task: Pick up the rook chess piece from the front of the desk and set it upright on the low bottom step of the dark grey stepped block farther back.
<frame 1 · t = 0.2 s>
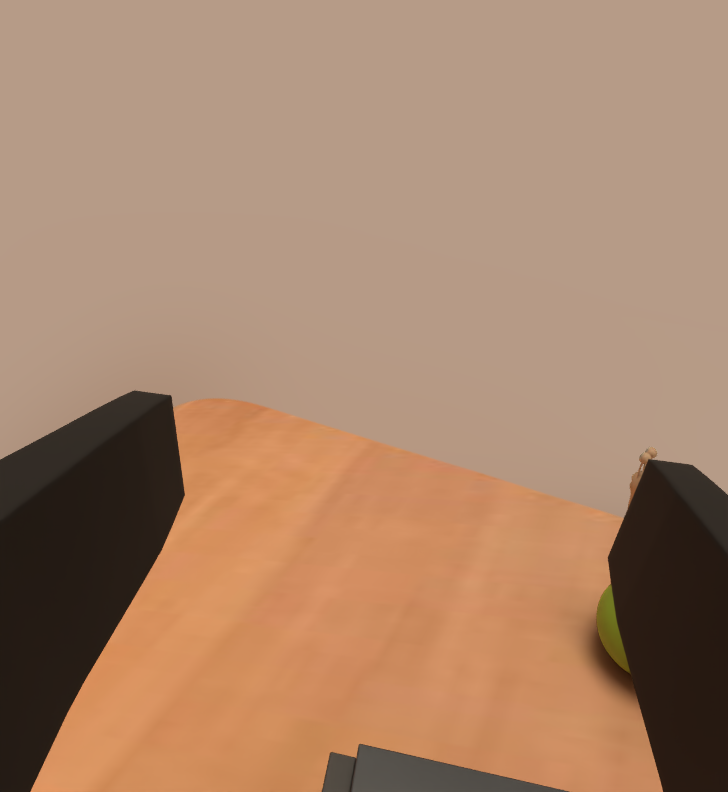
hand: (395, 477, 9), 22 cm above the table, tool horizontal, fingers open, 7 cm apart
snail figurine: (625, 653, 32), on the table
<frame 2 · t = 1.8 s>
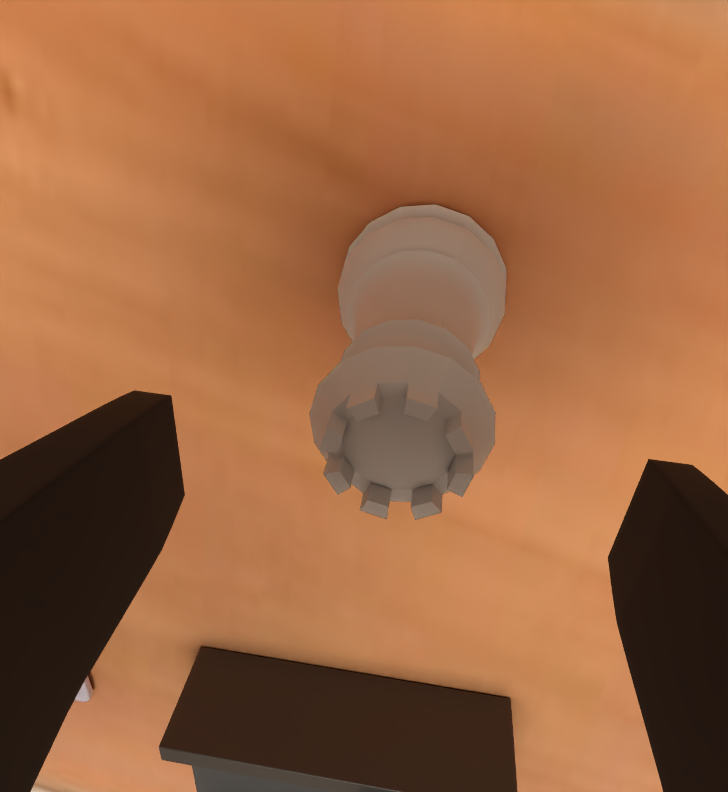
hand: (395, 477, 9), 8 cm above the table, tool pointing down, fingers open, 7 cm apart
dark grey stepped block: (346, 742, 30), on the table
rook chess piece: (423, 279, 16), on the table
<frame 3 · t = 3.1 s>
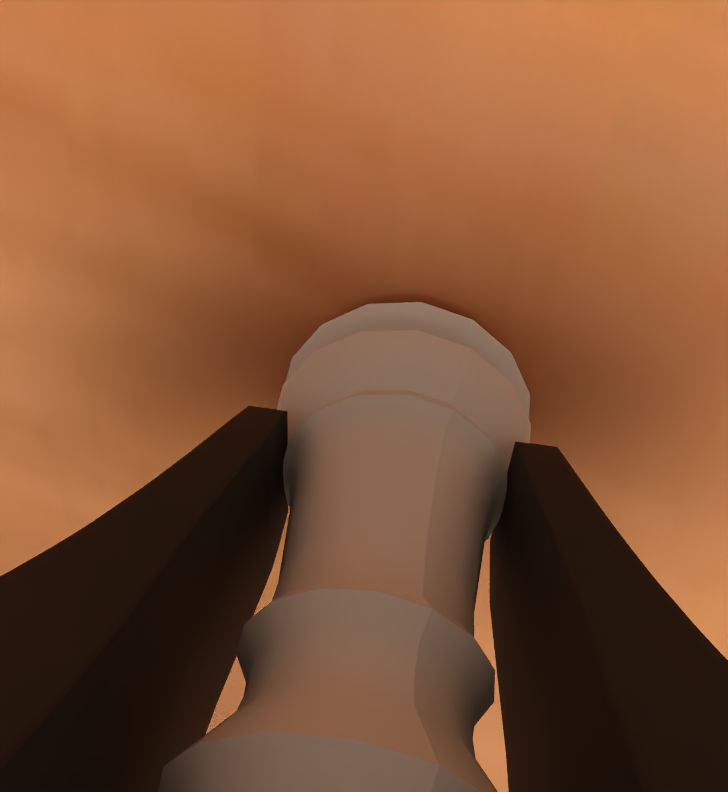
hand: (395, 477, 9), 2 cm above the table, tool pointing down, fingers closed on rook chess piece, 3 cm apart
rook chess piece: (406, 396, 11), on the table, touching gripper
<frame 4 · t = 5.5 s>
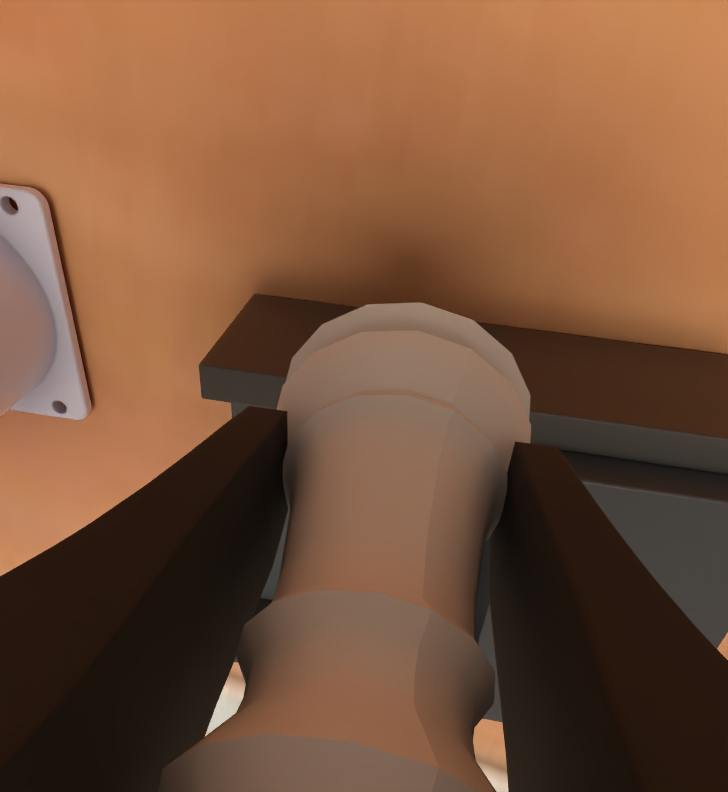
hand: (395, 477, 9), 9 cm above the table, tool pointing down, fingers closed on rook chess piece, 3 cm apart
dark grey stepped block: (452, 477, 21), on the table
rook chess piece: (406, 396, 11), point 7 cm above the table, touching gripper
when the fingers open (5 cm above the table, at t = 7.8 s): rook chess piece stays where it is, resting on dark grey stepped block.
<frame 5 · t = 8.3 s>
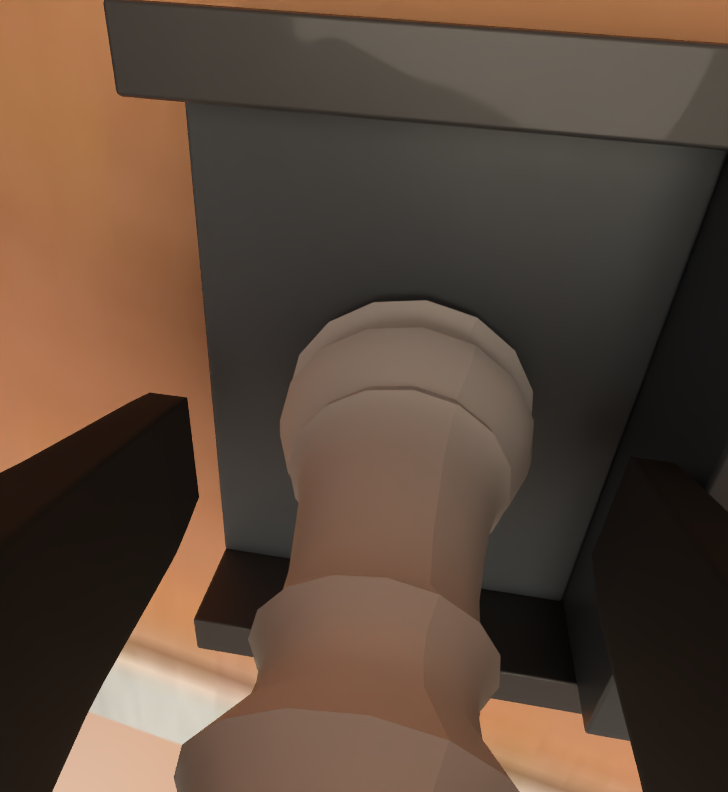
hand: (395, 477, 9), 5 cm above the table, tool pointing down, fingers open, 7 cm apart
dark grey stepped block: (555, 355, 13), on the table
rook chess piece: (410, 393, 11), point 2 cm above the table, touching dark grey stepped block
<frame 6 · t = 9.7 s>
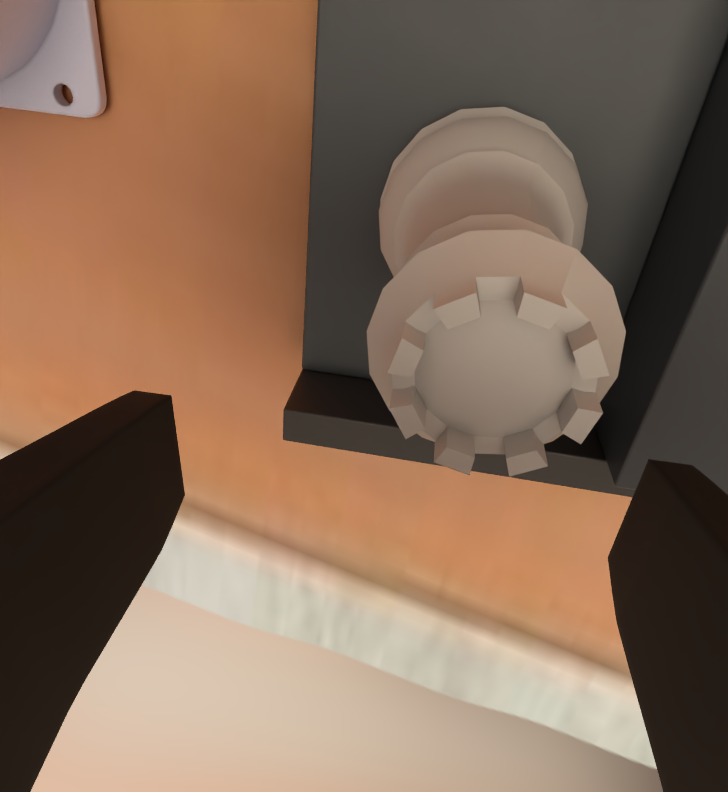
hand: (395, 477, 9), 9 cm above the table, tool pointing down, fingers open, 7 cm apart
dark grey stepped block: (592, 199, 15), on the table
rook chess piece: (478, 208, 14), point 2 cm above the table, touching dark grey stepped block
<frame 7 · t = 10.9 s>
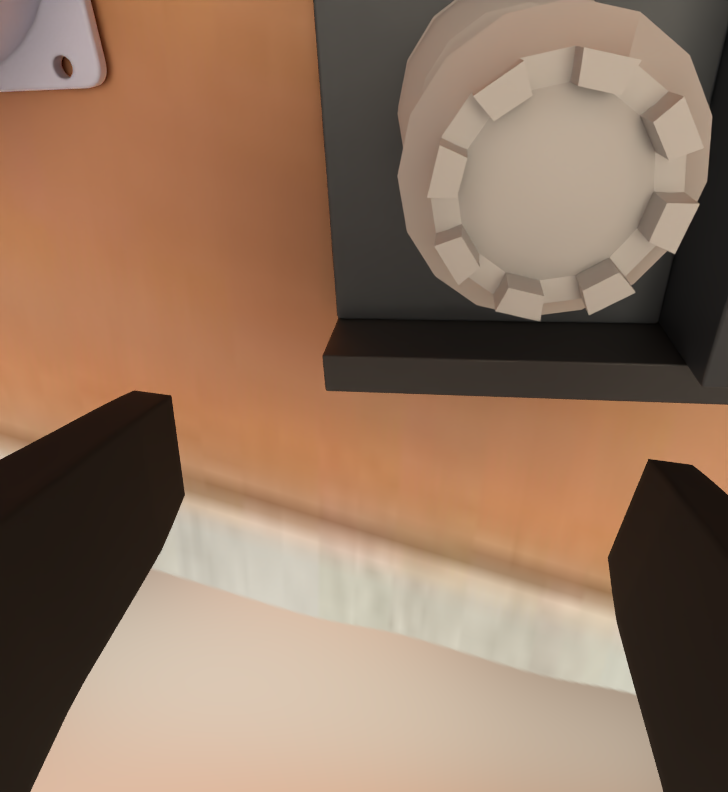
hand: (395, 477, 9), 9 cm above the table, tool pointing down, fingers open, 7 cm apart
dark grey stepped block: (630, 87, 14), on the table
rook chess piece: (506, 104, 13), point 2 cm above the table, touching dark grey stepped block
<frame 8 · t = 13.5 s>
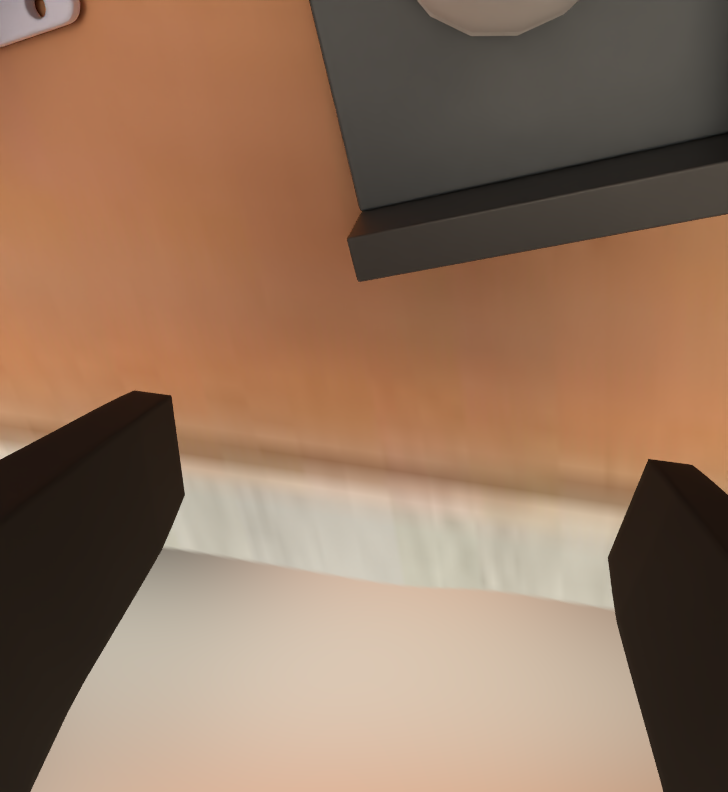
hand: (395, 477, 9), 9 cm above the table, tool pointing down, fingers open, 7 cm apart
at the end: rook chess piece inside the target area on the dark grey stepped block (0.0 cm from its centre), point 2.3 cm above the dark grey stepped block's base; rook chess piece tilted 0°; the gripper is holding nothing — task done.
